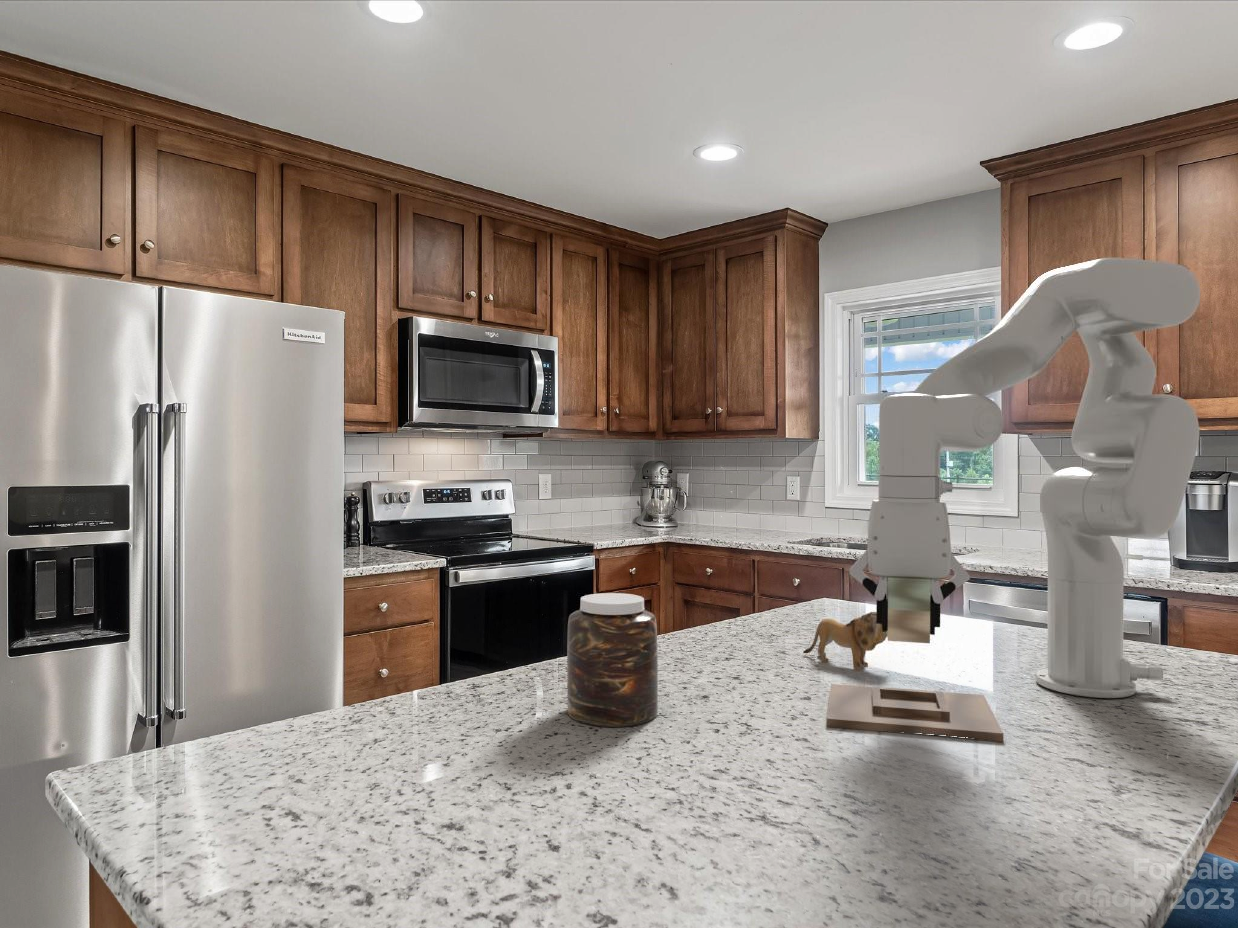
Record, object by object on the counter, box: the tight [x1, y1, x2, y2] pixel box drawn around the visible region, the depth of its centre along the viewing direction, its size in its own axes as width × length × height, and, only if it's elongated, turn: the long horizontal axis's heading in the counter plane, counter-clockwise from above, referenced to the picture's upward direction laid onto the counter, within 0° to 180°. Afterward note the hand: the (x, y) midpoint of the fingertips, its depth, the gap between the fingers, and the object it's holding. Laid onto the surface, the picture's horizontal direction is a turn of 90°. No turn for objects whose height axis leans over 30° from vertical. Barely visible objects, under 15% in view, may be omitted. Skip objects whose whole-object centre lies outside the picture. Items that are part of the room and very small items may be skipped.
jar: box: [566, 592, 659, 728], centre depth 108 cm, size 12×12×15 cm
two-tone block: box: [886, 577, 931, 644], centre depth 107 cm, size 5×5×8 cm
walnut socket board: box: [826, 683, 1004, 743], centre depth 107 cm, size 20×16×2 cm
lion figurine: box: [802, 611, 887, 671], centre depth 133 cm, size 15×5×9 cm, turn 48°
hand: (907, 629), depth 107 cm, fingers closed on two-tone block, 5 cm apart
